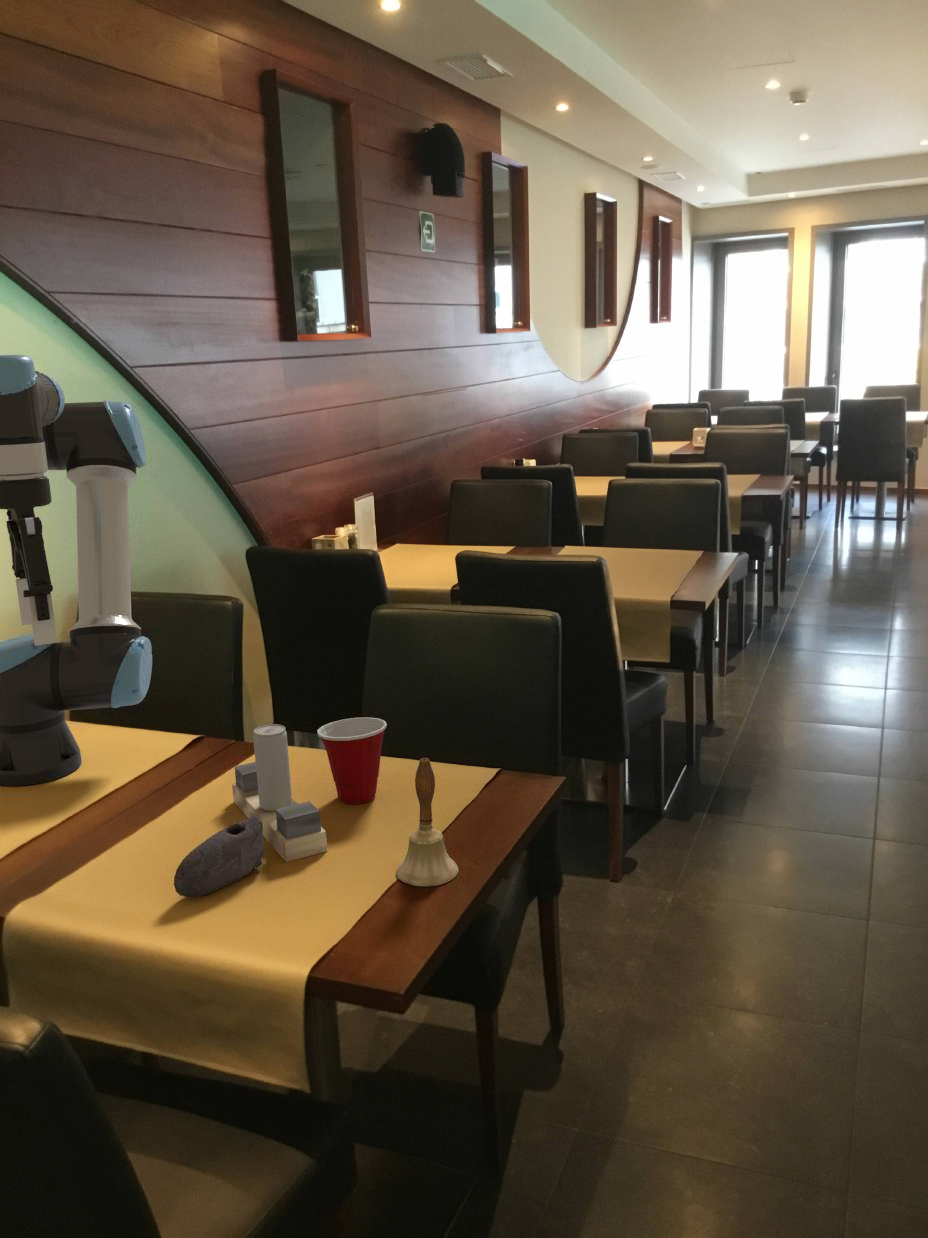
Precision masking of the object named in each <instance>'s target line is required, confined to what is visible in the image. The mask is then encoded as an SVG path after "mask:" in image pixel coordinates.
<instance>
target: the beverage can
mask: <svg viewBox="0 0 928 1238" xmlns="http://www.w3.org/2000/svg"><path fill="white" fill-rule="evenodd" d="M252 736H253V737H252V738H253V751H254V759H255V761H254V762H256V771H257V782H258V794H259V805H260V807H261V808H262V809H263V810H265V811H269V812H276V809H279V808H283V807H287V806H290V804H291V803H292V799H293V797H292V795H293V794H292V787H291V786H292V784H291V772H290V759H289V758H290V757H289V745H288V734H287V731H286V726H284V725H282V724H276V723H272V724H265V725H260V726H257V727H256V728H254V730H253V735H252Z"/></svg>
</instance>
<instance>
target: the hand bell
mask: <svg viewBox="0 0 928 1238" xmlns="http://www.w3.org/2000/svg"><path fill="white" fill-rule="evenodd" d="M414 781H415V782H414V783H415V784H414V785H415V792H416V796H417V799H418V802H419V803H418V804H419V819H418V821H419V823H418V824H419V826H418V829H415V830H413V831H412V832H411V833H410V834H409V838H408V846H407V851H406V855H405V857H404V859H403V860H402V861H401V862H400V863H399V865H398V867H396V871H395V872H396V876H397V877H396V878H398V880H400V881H401V882H402V883H404V884H407V885H411V886H413V887H414V886H415V887H435V886H440V885H444V884H446V883H448V882H451V881H452V880H454V879H455V878H456V877H457V876H458V874H459V871H460V870H459V865H457V863H456V861H454V860H453V858H451V857H450V855H449V854H448V853H447V849H446V846H445V841H444V835H443V833H442V832H441V831H440V830H439V829H436V828H433V812H432V803H433V798H434V794H435V788H436V778H435V772H434V771H433V767H432V765H431V761H430V759H429V758H428V757H422V758H420V759H419V762H418V766H417V769H416V772H415V778H414Z"/></svg>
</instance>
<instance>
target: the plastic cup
mask: <svg viewBox="0 0 928 1238" xmlns="http://www.w3.org/2000/svg"><path fill="white" fill-rule="evenodd" d="M387 726H388V723H387V722H386V721H385V720H384V719H381V718H377V717H376V718H375V717H367V716H366V717H353V718H352V717H351V718H344V719H340V720H336V721H332V722H329V723H326V724H324V725H322V726H320V727H319V728H318V729H317V730H316V731H317V735H318V737H319V738H320V740H321V741H322V743H323V746H324V749H325V751H326V754H327V759H328V763H329V767H330V770H331V775H332V778H333V782H334V785H335V788H336V789H335V790H336V794H337V797H338V798H339V801H340V802H342V803H343V804H347V805H359V804H360V805H362V804H366V803H369V802H371V801H372V800H374V799H375V797H376V793H377V789H378V787H377V785H378V778H379V774H380V765H381V758H382V756H381V755H382V746H383V742H384V741H383V740H384V739H383V738H384V735H385V730H386V728H387Z"/></svg>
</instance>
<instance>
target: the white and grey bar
mask: <svg viewBox="0 0 928 1238" xmlns="http://www.w3.org/2000/svg"><path fill="white" fill-rule="evenodd" d="M234 775H235V783H232V784H231V787H232V796H233V797H232V799H233V803H234V804H235V805H236V806H237V807H238V809H239V810H240V811H241V812H242V813H243V814H244V815H245V817H246V818H249V817H252V816H255V817H256V818H257V819H259V820H260V821H261V822H262V826H263V831H262V834H263V838H264V839H265V840H266V841H267V842H268V843H269V844H270V845H271V846H272V847H273V849H274V850H276V851H275V852H277V853H278V854H279V856H280V857H281V859H283V860H284V862H286V863H288V862H289V863H290V862H292V861H296V860H299V859H304V858H307V857H311V856H314V855H319V854H322V853H325V852H328V841H327V832H326V830H325V829H324V828H323V827H322V821H321V811H320V810H319V809H318V808H317V807H316V806H315V805H314V804H313V803H312V802H311V801H310V800H307V801H305V802H304V801H303V802H300V803H298V802H296V801H295V799H293V798H292V803H291V804H290V806H287V807H283V808H279V809H276V812H269V811H265V810H263V809H262V808H261V807H260V805H259V794H258V782H257V771H256V761H253V762H248V763H245V764H240V765H236V766H234Z"/></svg>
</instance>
